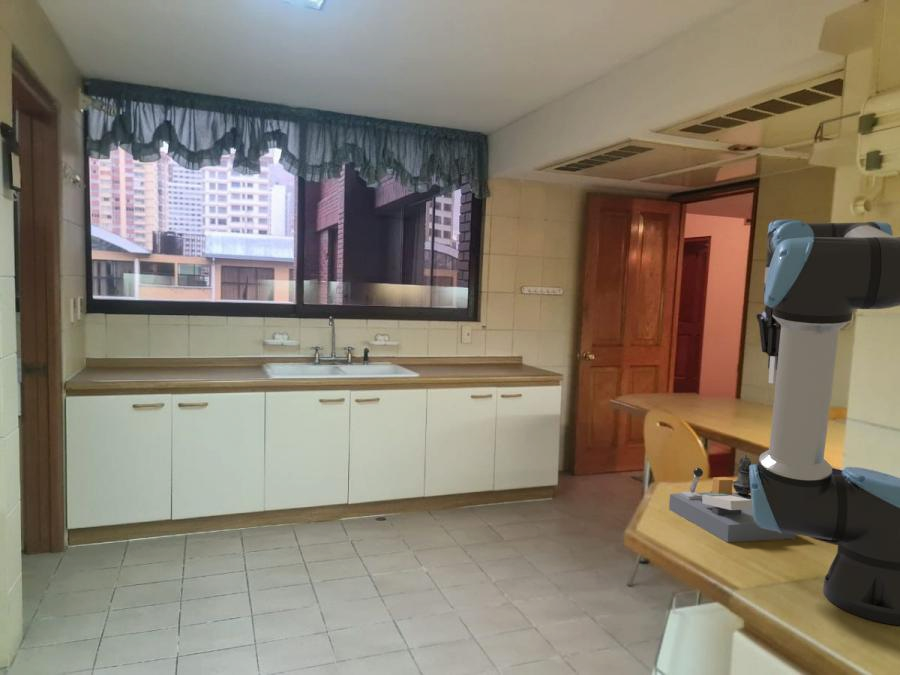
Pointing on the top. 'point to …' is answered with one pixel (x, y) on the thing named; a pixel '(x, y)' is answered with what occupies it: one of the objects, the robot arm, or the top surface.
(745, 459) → the chess piece
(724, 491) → the slider
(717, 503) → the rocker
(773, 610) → the top surface
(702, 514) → the panel
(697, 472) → the toggle
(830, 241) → the robot arm
